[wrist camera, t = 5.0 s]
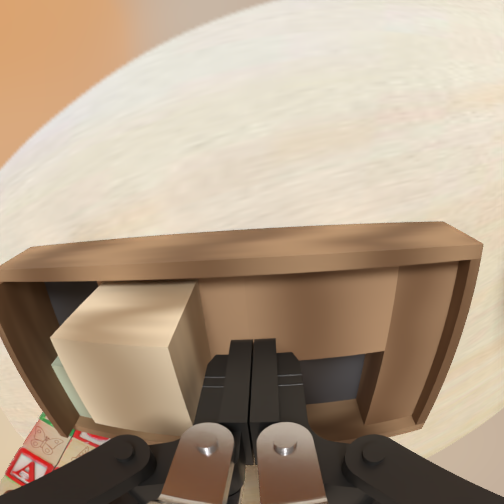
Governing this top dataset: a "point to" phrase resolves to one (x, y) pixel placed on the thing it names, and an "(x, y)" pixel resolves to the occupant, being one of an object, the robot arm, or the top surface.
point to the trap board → (272, 312)
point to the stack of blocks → (46, 453)
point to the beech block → (138, 354)
